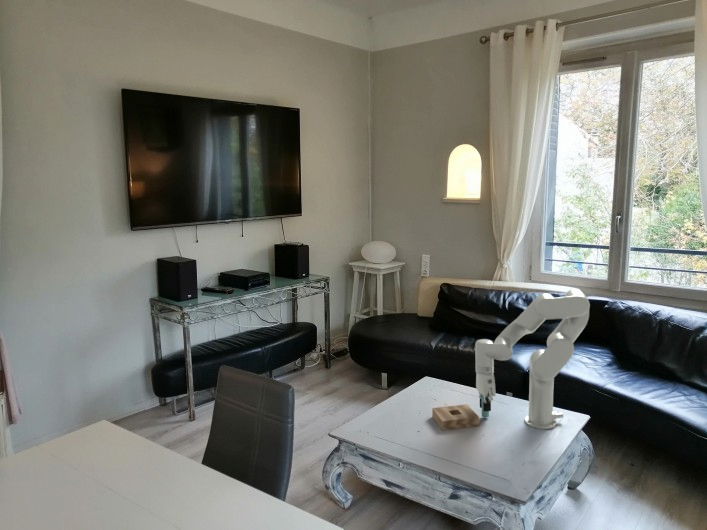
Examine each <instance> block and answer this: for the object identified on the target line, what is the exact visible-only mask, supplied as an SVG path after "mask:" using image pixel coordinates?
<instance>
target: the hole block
mask: <svg viewBox="0 0 707 530" xmlns="http://www.w3.org/2000/svg"><path fill="white" fill-rule="evenodd" d="M431 409H432V410H431V411H432V413H431V414H432V418H433V420H434V421H435V422H436V423H437V425H438V426H439V428H440V429H441V430H442V431H446V430H447V431H449V430H457V429H465V428H473V427H479V426H480V416H479V415H478V414H477V413H476V412H475V411H474V410H473V409H472V408H471V407H470V406H469V405H468V403H467V404H457V405H448V406H440V407H432V408H431Z"/></svg>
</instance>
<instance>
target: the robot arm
mask: <svg viewBox="0 0 707 530" xmlns="http://www.w3.org/2000/svg"><path fill="white" fill-rule="evenodd" d="M582 291H583V290H582ZM582 291H581V290H580V289H576V288H571V289H570V290H568V291H566V293H565V295H564V296H562V297H554V296H553V295H551V294H549V293H546V292H545V293H539V295H537V296H536V297H535V298H534V300H533V301H531V303H530V304H529V305H528V306H527V307H526V308H525V309H524V310H523V312H521V313H520V314H519V316H517V318H516V319H514V320H513V321H511V323H509V325H507V326H506V327H505V328H504V329H503V330H502V331H501V332H500V334H499V335H498V336H497V337H496V338H495V340H494V342H493V341H492V340H490V339H487V338H486V339H485V338H484V339H483V338H482V339H477V340H476V341H475V344H474V345H475V346H474V347H475V351H474V353H475V355H474V356H475V373H476V374H475V375H476V377H475V387H476V390H477V392H478V394H479V395H478V398H479V408H480V409H482V396H481V394H482V395H483V396H484V403H483V411H484V412H486V411H489V412H491V410H492V401H493V400H494V397H496V383H495V382H496V379H495V375H494V373H495V371H494V370H495V367H494V366H495V361H494V360H497V361H508V360H510V359H511V358H512V356H513V354H514V353H513V346H515V344H516V343H517V342H518V341H519V340H520V339H521V338H523V337H524V336H525V335H529V334H533V333H535V332H536V330H537V329H538V328H539V327H540V326H541V325H543V323H544V322H545V321H546V320H560V319H561V321H560V323H558V325H557V327H555V329H554V330H553V331H552V332H551V333H550V334H549V335H548V337H547V340H546V346H547V347H546V348H545V349H543V348H541V349H536V350H535V351H532V353H531V354H530V358H529V360H528V361H529V388H528V389H529V390H528V391H529V393H528V414H527V415H526V416H525V417H524V423H525V424H526V425H527V426H529V427H531V428H534V429H538V430H550V429H551V430H552V429H553V428H555V427H556V426H557V419H560V418H564V413H563V412H559V413H558V412H557V411H554V410H553V408H554V389H555V388H554V387H555V386H554V384H555V382H554V381H555V377H557V375H558V374H559V373H560V372H561V371H562V369H564V367H565V366H566V365H567V363H568V362H569V361H570V360H571V359H572V357H573V355H574V351H575V346H574V343H575V341H576V340H577V338H578V337H579V336H580V334H581V333H582V332H583V330H584V329H585V328H586V326H587V325H588V321H589V319H590V307H591V304H590V301H589V298H587V296H586V295H585V293H584V292H582ZM487 397H489V398H487ZM486 398H487V399H486Z"/></svg>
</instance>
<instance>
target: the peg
mask: <svg viewBox="0 0 707 530" xmlns="http://www.w3.org/2000/svg"><path fill="white" fill-rule="evenodd" d="M481 396H482V408H481V417H482V418H489V417H490V411H486V412H484V411H483V403H484V396H483V395H482V394H481ZM487 398H489V397H487ZM487 398H486V399H487Z"/></svg>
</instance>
